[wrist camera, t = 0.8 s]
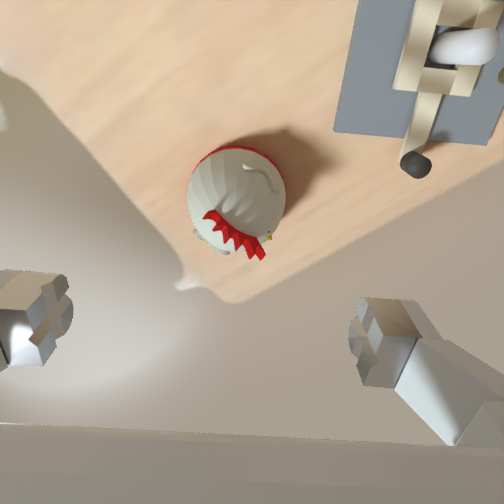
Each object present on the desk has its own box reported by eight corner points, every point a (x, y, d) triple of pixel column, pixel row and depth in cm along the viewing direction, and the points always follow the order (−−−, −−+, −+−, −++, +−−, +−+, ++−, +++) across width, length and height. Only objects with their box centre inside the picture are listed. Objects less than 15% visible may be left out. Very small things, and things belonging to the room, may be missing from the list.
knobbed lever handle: (417, -6, 35) (435, -13, 31) (499, 3, 35) (526, -3, 32) (370, 166, 44) (381, 175, 41) (436, 171, 45) (452, 181, 41)
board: (374, -77, 34) (414, -120, 25) (562, -54, 35) (659, -88, 26) (332, 129, 44) (352, 147, 36) (479, 143, 45) (530, 162, 37)
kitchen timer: (246, 251, 53) (245, 314, 40) (171, 203, 49) (143, 256, 36) (304, 184, 48) (325, 232, 35) (225, 123, 43) (215, 152, 30)
